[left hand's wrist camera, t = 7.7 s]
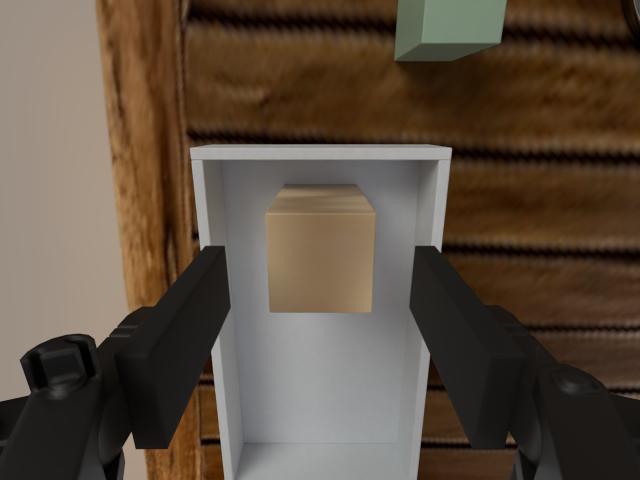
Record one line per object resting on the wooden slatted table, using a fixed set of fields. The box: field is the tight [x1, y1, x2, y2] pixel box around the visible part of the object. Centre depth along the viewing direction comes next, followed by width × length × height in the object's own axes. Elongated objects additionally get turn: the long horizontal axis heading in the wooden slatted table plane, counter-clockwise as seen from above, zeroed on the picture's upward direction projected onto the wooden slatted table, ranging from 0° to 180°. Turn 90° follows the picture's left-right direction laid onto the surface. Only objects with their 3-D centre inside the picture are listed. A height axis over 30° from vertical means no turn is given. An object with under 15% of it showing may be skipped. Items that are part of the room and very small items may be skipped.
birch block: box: [265, 184, 377, 313], centre depth 19 cm, size 4×4×8 cm
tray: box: [190, 145, 452, 480], centre depth 22 cm, size 32×13×10 cm, turn 0°
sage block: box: [394, 0, 507, 61], centre depth 23 cm, size 4×4×8 cm
